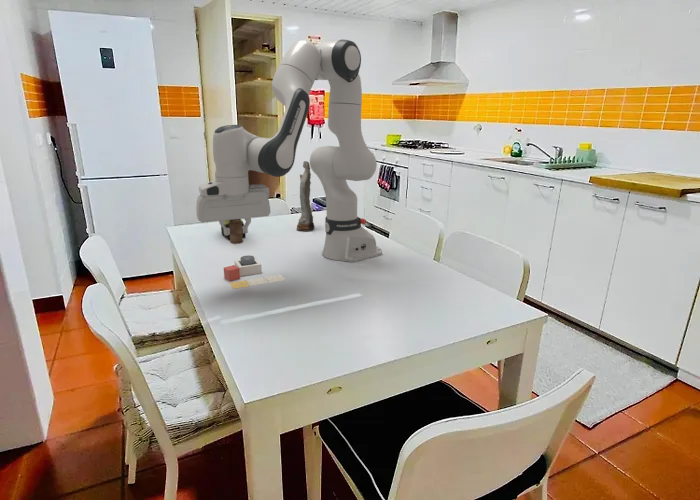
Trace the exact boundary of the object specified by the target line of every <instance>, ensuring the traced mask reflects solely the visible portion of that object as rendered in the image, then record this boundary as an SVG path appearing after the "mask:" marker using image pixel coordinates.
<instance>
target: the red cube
mask: <svg viewBox="0 0 700 500" xmlns="http://www.w3.org/2000/svg"><path fill="white" fill-rule="evenodd" d="M223 278H224V279H226V280H227V281H228V282H233V281H236V280H241V276H240V271H239V268H238V267H236V266H235V264H233V265H228V266H225V267H223Z"/></svg>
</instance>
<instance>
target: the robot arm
mask: <svg viewBox="0 0 700 500" xmlns="http://www.w3.org/2000/svg"><path fill="white" fill-rule="evenodd" d="M361 64H362V56H361V51H360V49H359V47H358V45H357V44H356V43H355V41H352V40H350V39H349V40H348V39H339V40H338V39H337V40H335V39H333V40H331V39H330V40H324V41H322V42H319V43H316V44H315V43H313V42H312V41H309V40H307V39H306V40H305V39H300V40H297V41H295V42H294V43H293V44H292V45H291V46H290V48H289V49H288V50H287V52H286V53H285V54H284V57H282V60H280V63H279V65H278V67H277V68H276V70H275V73H274V75H273V77H272V81H271V89H272V93H273V95H274V96H275V99H276V100H277V101H278V102H280V104H282V105H283V106H284V107H285V110H284V113H283V115H282V119H281V122H280V124H279V127H278V130H277V132H276V134H275V135H273V136H272V137H269V138H268V137H261V136H259V135H255V134H253V133H251V132H249V131H247V130H246V129H245V128H244V127H243V125H239V124H229V125H222V126H219V127H218V128H216V129H215V130H214V131H213V138H212V155H213V161H214V164H215V172H214V178H215V179H213V180H210V181H208V182H204V183H202V184H200V185H199V186H198V191H199V193H200V194H199V195H198V196H197V199H196V209H195V210H196V211H195V212H196V218H197V221H199V222H200V223H211V222H212V223H213V222H218V223H219V225H220V227H221V226H222V227H223V229H224V235H230V229H229V228H226V227H225V226H224V224H225V220H233V219H241V220H242V219H244V221H245V222H244V226H242V233H245V234H248V232H249V230H248V228H249V226H250V224H251V222H252V218H253V219H254V218H263V217H268V216H270V214H271V204H270V201H269V198H270V195H271V194H270V188H269V187H268V186H267V185H265V184H264V183H263V184H262V183H259V184H250V183H249V171H253V172H257V173H262V174H267V175H269V176H272V177H277V178H279V177H280V178H281V177H283V176H285V175H287V174H288V173H289V172H290V171H291V169H292V168H293V167H294V164H295V159H296V152H297V147H298V143H299V141H300V138H301V134H302V131H303V128H304V125H305V122H306V119H307V117H308V112H309V110H310V104H311V101H310V99H311V98H310V93H311V90H312V88H313V85H314V83H315V81H319V80H320V81H327V82H328V84H329V87H330V88H329V94H328V115H327V117H328V119H327V127H328V130H329V131H330V132H331V133H332V134H333V135H335V137H336V139H337V140H338V146H334V145H325V146H319V147H316V148H314V150H313V151H312V152H311V154H310V155H309V165H310V170H312V172H313V173H314V174H315V175H316V176H317V178H318V180H320V183H321V186H322V187H323V191H324V195H325V202H326V203H325V205H326V207H325V209H326V216H325V218H324V220H325V221H324V222H325V223H324V228H325V229H324V230H325V240H324V246H323V250H322V256H323V257H324V258H327V259H329V260H334V261H344V262H350V263H355V262H358V261H362V260H366V259H370V258H373V257H378V256H381V255H383V250H382V249H381V248H380V247H379V246H378V245H377V241H376V238H375V236H374V235H373V234H372V233H371V232H369V231H368V230H367V229H365V227H363V226H364V225H366V224H367V221H368V220H367V219H366V218H363V217H362V218H361V217H359V216H358V197H357V194H356V193H355V192H354V191H353V190H352V189H351V188H350V187H349V184H348V182H347V181H353V182H361V181H368V180H370V179H372V177H373V176H374V174H375V173H376V170H377V159H376V157H375V154H374V153H373V152H372V151H371V150H370V149H369V148H368V146H367V144H366V142H365V140H364V137H363V132H362V104H363V103H362V102H363V96H362V95H363V94H362V93H363V92H362V90H363V88H362V81H361V76H360V68H361V66H362V65H361ZM362 225H363V226H362Z"/></svg>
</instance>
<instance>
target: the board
mask: <svg viewBox="0 0 700 500" xmlns="http://www.w3.org/2000/svg"><path fill="white" fill-rule="evenodd" d="M277 282H286V279H285V278H284V276H282V274H277V275H270V276H265V277H258V278H251V279H247V280H246V279H245V280H239V281H234V282H233V281H231V282H229V285H231V288H232V289H233V290H236V289H237V290H238V289H242V288H248V287H253V286H254V287H255V286H259V285H267V284H271V283H277Z"/></svg>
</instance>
